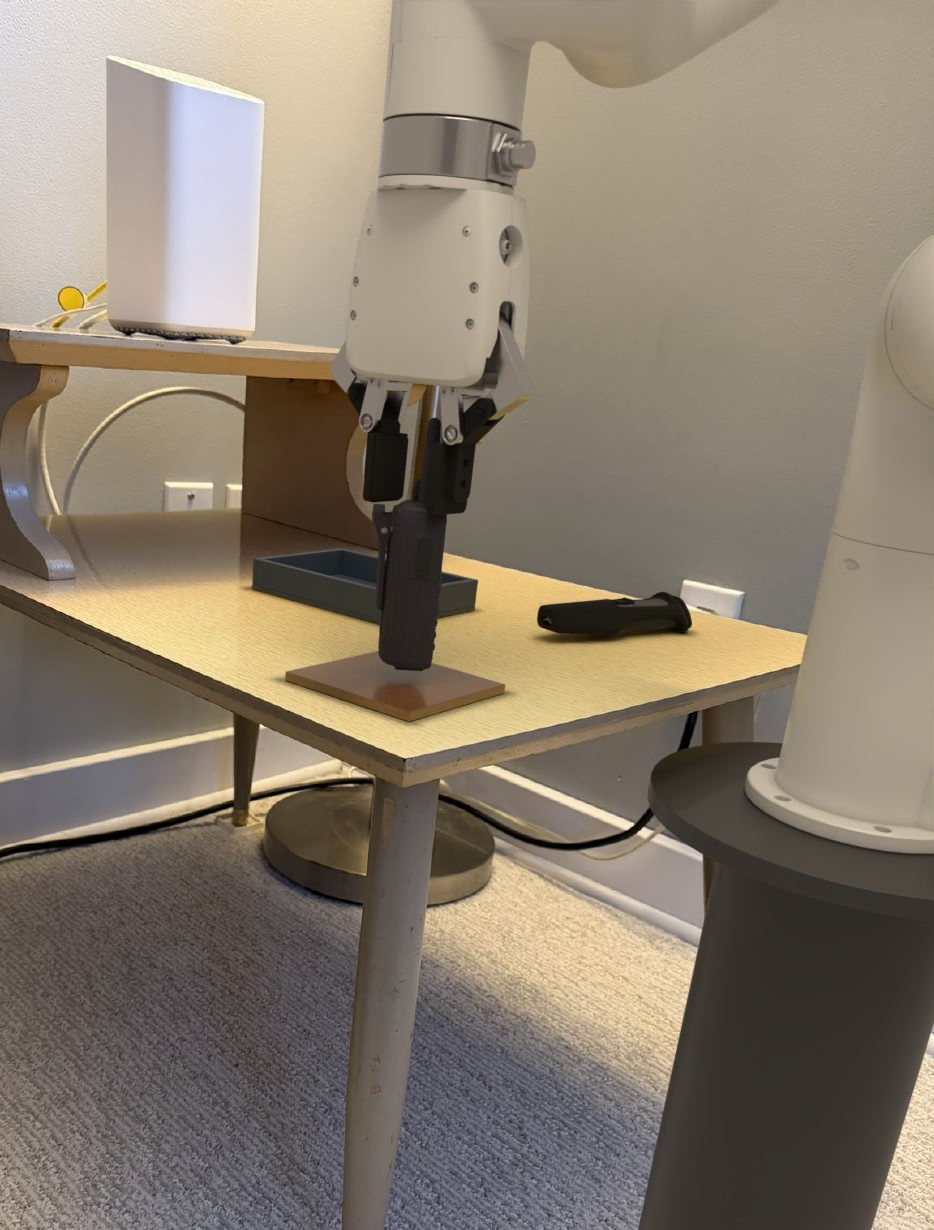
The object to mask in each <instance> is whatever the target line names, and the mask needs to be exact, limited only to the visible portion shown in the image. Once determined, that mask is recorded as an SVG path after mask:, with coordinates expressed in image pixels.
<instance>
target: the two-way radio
mask: <svg viewBox="0 0 934 1230" xmlns="http://www.w3.org/2000/svg"><path fill="white" fill-rule="evenodd" d="M425 434H426V435H425V441H424V448H423V449H424V450H423V456H422V464H421V465H422V466H421V472H420V473H421V474H420V475H421V476H420V477H418V478H416V480H415V482H414V486H413V489H412V493H411V495H412V496H413V497H412V498H411V499H405V500H403V501H401V502H400V503H398V504H394V505H393V507H392V510H391V511H386V505H385V504H383V503H373V505H372V512H371V521H372V523H373V525H374V527H375V531H376V536H377V545H378V549H377V552H378V553H377V557H378V570H377V584H376V599H375V604H376V606H377V608H378V609H379V610H381V616H380V624H379V627H378V632H379V633H378V644H377V645H378V646H377V648H378V649H377V651H378V654H379V657H380V658H381V660H382V661H383V662H385V663H386V664H388V665H392V666H394V667H395V669H396V670H410V671H423V670H424V669H428V668H430V667H431V663H433V657H434V651H435V649H436V644H435V640H436V638H437V632H436V630H437V626H438V618H437V614H439V610H440V604H439V602H438V601H439V592H440V590H441V586H442V575H441V573H442V572H443V562H444V561H443V560H444V551H445V541H446V532H447V523H448V514H447V515H434V514H430V513H429V512H428V511H427V509H426V504H427V495H428V485H429V475H430V466H431V456H432V448H433V446H434V443H441V435H442V421H441V419H439V418H437V417H432V418H430V419H429V420H428V422H427V427H426V433H425ZM385 558H386V565H385ZM384 568H385V570H384Z"/></svg>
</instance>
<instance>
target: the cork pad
mask: <svg viewBox="0 0 934 1230" xmlns="http://www.w3.org/2000/svg"><path fill="white" fill-rule="evenodd" d="M284 675H285V676H284V680H285V681H286V682H290V683H292V684H295V685H298V686H301V687H304V688H307V689H310V690H313V691H316V692H319V693H321V694H325V695H327V696H331V697H335V698H337V699H340V700H343V701H346V702H349V703H352V704H356V705H358V706H361V707H364V708H367V709H369V710H374V711H375V712H378V713H382V714H385V715H388V716H391V717H394V718H397V719H399V720H400V719H401V720H403V721H406V722H412V721H416V720H419V719H423V718H426V717H429V716H432V715H435V714H439V713H443V712H445V711H448V710H453V709H455V708H459V707H462V706H465V705H469V704H472V703H475V702H479V701H482V700H485V699H488V698H491V697H496V696H499V695H502V694H504V693H505V690H506V684H505V683H502V682H500V681H495V680H493V679H490V678H489V679H488V678H485V677H481V676H479V675H475V674H472V673H468V672H465V671H461V670H458V669H455V668H451V667H447V666H444V665H440V664H438V663H434V662H432V663H431V667H430V668H428V669H424V670H423V671H410V670H396V669H395V667H394V666H392V665H388V664H386V663H385V662H383V661H382V660H381V658H380V657H379V654H378V650H377V651H371V652H368V653H362V654H358V655H354V656H348V657H345V658H341V659H335V660H331V661H326V662H322V663H317V664H313V665H308V666H304V667H299V668H295V669H291V670H286V671H285V674H284Z"/></svg>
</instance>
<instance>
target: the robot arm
mask: <svg viewBox="0 0 934 1230" xmlns="http://www.w3.org/2000/svg"><path fill="white" fill-rule="evenodd" d="M391 1H392V2H391V14H390V25H389V38H388V39H389V40H388V50H387V64H386V65H387V66H386V77H385V89H384V104H383V114H382V115H383V116H382V123H381V124H382V126H381V138H380V150H379V161H378V163H379V164H378V174H377V175H378V176H377V178H378V179H377V183H376V184H377V186H376V190H370V191H369V196H368V199H367V203H366V207H365V210H364V214H363V218H362V223H361V226H360V231H359V234H358V235H359V236H358V241H357V246H356V251H355V256H354V261H353V269H352V275H351V283H350V289H349V296H348V297H349V298H348V306H347V315H346V316H347V318H346V331H345V340H344V342H343V344H342V346H341V347H340V349H339V351H338V352H337V354H336V356H335V358H334V359H333V362H332V363H331V364H330V366H329V367H330V368H329V373H330V376H331V378H332V379H333V380H334V381H335V382H336V384H337V385H338V386H339V387H340V388H341V390H343V392H344V393H345V394H347V397H348V399H349V401H350V403H351V406H353V408H354V410H355V411H356V413H357V415H358V416H359V417H358V426H359V428H360V430H361V431H362V432H364V433H367V436H366V445H365V447H366V448H365V458H364V460H365V461H364V470H363V489H362V499H363V500H364V502H367V503H368V502H369V503H384V502H397V501H400V500H401V499H402V498H403V497H404V491H405V481H406V471H407V460H408V451H409V437H408V435H409V434H408V433H405V432H401V429H402V426H403V424H404V420H405V415H406V411H407V408H408V403H409V399H410V397H411V392H412V389H413V384H416V385H417V384H419V385H429V386H435V387H439V399H440V401H439V402H440V418H441V419H440V421H441V437H442V442H440V443H434V446H433V448H432V456H431V466H430V475H429V485H428V495H427V504H426V509H427V511H428V512H429V513H430V514H434V515H447V516H448V515H456V514H464V513H465V512H466V510H467V506H468V499H469V497H470V495H471V491H472V490H471V489H472V481H473V473H474V465H475V456H476V447H477V445H482V444H483V443H485V441H486V439H487V434H489V432H490V431H492V429H494V427H496V426H497V425H498V423H500V422H501V421H502V420H503V419H504V417H505V416H506V415H507V414H508V413H511V412H513V411H514V410H516V409H517V408H519V407H520V406H522V405H523V404H525V403H526V402H528V401H530V400H531V399H532V398H533V396H534V394H535V388H534V387H535V386H534V384H533V381H532V379H531V376H530V374H529V371H528V369H527V366H526V363H525V352H526V344H527V343H526V342H527V333H528V321H529V306H530V305H529V304H530V284H531V283H530V279H531V273H530V272H531V247H530V245H531V244H530V243H531V242H530V229H529V217H528V215H529V214H528V205H527V199H525V198H524V197H521V196H515V195H514V194H515V187H516V186H517V181H518V173H519V171H521V170H529V169H531V168H532V167H533V166H534V164H535V161H536V157H537V155H536V153H537V151H536V146H535V144H534V141H533V140H528V139H527V140H523V132H522V126H523V121H524V120H523V118H524V111H525V103H526V96H527V95H526V94H527V84H528V76H529V68H530V59H531V54H532V48H533V46H535V44H536V43H538V42H544V43H548V44H549V45H551V46H553V47H554V48H555V49H558V50H560V51H561V52H562V54H563V55H564V57H565V58H566V60H567V61H568V63H569V64H570V65H571V67H572V68H573V69H574V70H575V71H576V72H577V73H578V75H580V76H581V77H582V78H584V79H585V80H586V81H588V82H590V83H591V84H594V85H596V86H599V87H603V88H609V89H627V88H628V89H629V88H634V87H637V86H640V85H641V86H642V85H645V84H647V83H650V82H652V81H654V80H656V79H659V78H661V77H663V76H665V75H666V74H668V73H670V72H672V71H674V70H675V69H677V68H679V67H681V66H682V65H684V64H685V63H687V62H690V61H691V60H693V59H694V58H695V57H697V56H699V55H701V54H702V53H703V52H705V51H707V50H708V49H710V48H712V47H713V46H715V45H716V44H718V43H720V42H721V41H724V40H725V39H726V38H728V37H729V36H732V35H733V34H735V33H737V32H738V31H740V30H741V29H743V28H745V27H746V26H747V25H749V24H750V23H752V22H754V21H756V20H757V19H758V18H760V17H762V16H763V15H765V14H766V13H767V12H769V11H770V10H772V9H773V8H775V7H776V6H777V5H779V4H781V3H782V2H783V1H784V0H391ZM864 358H865V359H864V363H863V368H862V369H863V370H862V375H861V381H860V387H859V394H858V399H857V405H856V411H855V416H854V422H853V429H852V433H851V438H850V443H849V447H848V453H847V457H846V462H845V467H844V472H843V477H842V481H841V486H840V490H839V494H838V499H837V503H836V508H835V512H834V517H833V522H832V526H831V529H830V533H829V537H828V541H827V545H826V546H827V547H826V550H825V555H824V560H823V564H822V568H821V573H820V577H819V581H818V586H817V590H816V595H815V599H814V604H813V608H812V613H811V617H810V621H809V624H808V625H809V626H808V630H807V634H806V639H805V643H804V648H803V652H802V657H801V661H800V664H799V668H798V669H799V670H798V676H797V678H796V683H795V688H794V692H793V696H792V702H791V705H790V709H789V715H788V719H787V723H786V726H785V732H784V736H783V741H782V743H783V744H782V749H781V753H780V758H774V759H768V760H765V761H762V762H759V763H757V764H756V765H754V766H753V767H751V768H750V770H749V771H748V773H747V778H746V783H745V792H746V795H747V797H748V798H749V799H750V800H751V801H752V803H753V804H754V805H755V806H756V807H758V808H759V809H760V810H762V811H763V812H764V813H766V814H767V815H769V816H771V817H773V818H774V819H776V820H778V821H780V822H782V823H784V824H786V825H789V826H791V827H793V828H795V829H798V830H800V831H803V832H806V833H809V834H812V835H814V836H817V837H820V838H824V839H827V840H831V841H834V842H838V843H841V844H846V845H850V846H855V847H859V848H864V849H870V850H876V851H883V852H890V853H901V854H925V855H930V854H934V233H933V234H931V235H930V236H929V237H927V238H926V239H925V240H923V241H922V242H921V243H920V244H919V245H918V246H917V247H915V248H914V249H913V250H912V251H911V252H910V253H909V255H908V256H907V257H906V258H905V259H904V260H903V262H902V263H901V264H900V265H899V267H898V268H897V269H896V271H895V272H894V274H893V276H892V277H891V278H890V280H889V283H888V284H887V286H886V287H885V290H884V292H883V294H882V297H881V298H880V301H879V304H878V306H877V309H876V313H875V315H874V318H873V321H872V325H871V329H870V332H869V338H868V342H867V348H866V352H865V357H864ZM486 389H488V390H489V389H490V392H489V393H488V394H487V395H486Z"/></svg>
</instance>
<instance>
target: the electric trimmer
mask: <svg viewBox="0 0 934 1230" xmlns="http://www.w3.org/2000/svg"><path fill="white" fill-rule="evenodd" d="M691 615H692V614H691V612H690V610H689V608H688V605H687V604H686V603H685V601H684V600H683V599H682V598H681V597H679V596H677V595H673V594H671V593H669V592H667V591H659V592H656V593H655V594H653V595H652V596H651V597H647V598H640V599H632V598H628V597H625V596H624V597H621V598H614V599H612V598H611V599H609V598H602V599H601V598H600V599H594V600H581V601H571V602H569V601H568V602H559V603H548V604H542V605H540V606H539V607H538V609H537V616H536V623H537V626H538V627H539V628H541V629H544V630H546V631H548V632H552V633H555V634H560V635H584V636H594V637H595V636H597V637H613V636H618V635H619V634H620V633H621V632H629V631H642V630H643V631H644V630H657V629H669V630H673V631H675V632H678V633H679V632H680V633H686V632H688V631H689V629H691V628H692V626H693V620H692V616H691Z"/></svg>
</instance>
